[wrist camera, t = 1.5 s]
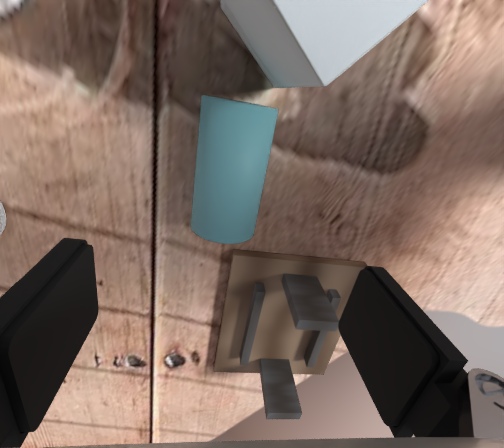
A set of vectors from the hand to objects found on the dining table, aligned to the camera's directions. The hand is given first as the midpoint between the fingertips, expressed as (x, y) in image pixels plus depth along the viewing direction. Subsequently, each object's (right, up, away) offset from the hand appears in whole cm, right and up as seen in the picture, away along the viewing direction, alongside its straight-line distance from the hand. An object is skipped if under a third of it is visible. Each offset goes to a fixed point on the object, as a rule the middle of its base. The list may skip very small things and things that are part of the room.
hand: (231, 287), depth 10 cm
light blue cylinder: (-2, +8, +16) cm, 19 cm away
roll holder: (+5, -10, +26) cm, 28 cm away
